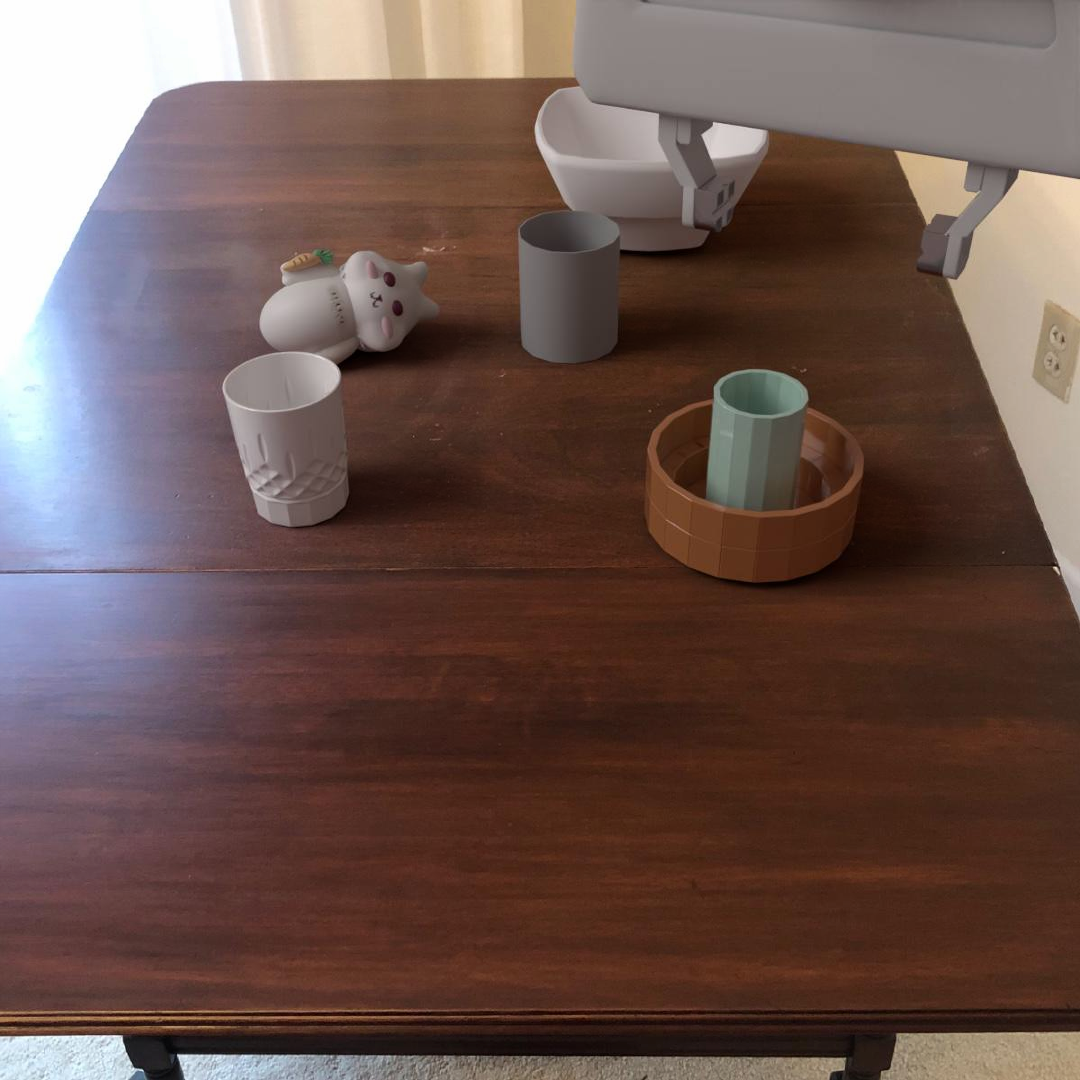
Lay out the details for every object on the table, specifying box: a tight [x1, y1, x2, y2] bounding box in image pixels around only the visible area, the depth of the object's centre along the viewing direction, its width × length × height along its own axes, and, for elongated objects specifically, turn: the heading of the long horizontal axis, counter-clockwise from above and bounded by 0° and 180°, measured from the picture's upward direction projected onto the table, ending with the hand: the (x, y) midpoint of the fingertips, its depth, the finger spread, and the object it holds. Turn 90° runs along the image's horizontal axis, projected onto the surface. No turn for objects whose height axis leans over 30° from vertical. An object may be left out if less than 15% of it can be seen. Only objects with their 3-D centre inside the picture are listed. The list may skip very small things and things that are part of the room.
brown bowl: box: [643, 398, 865, 584], centre depth 83 cm, size 14×14×6 cm
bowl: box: [534, 85, 770, 252], centre depth 119 cm, size 22×22×12 cm
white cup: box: [222, 351, 350, 528], centre depth 85 cm, size 8×8×10 cm
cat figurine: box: [259, 248, 440, 366], centre depth 103 cm, size 10×8×15 cm
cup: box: [517, 209, 621, 365], centre depth 103 cm, size 8×8×10 cm
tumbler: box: [704, 368, 809, 512], centre depth 82 cm, size 6×6×10 cm
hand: (819, 247), depth 47 cm, fingers open, 8 cm apart
